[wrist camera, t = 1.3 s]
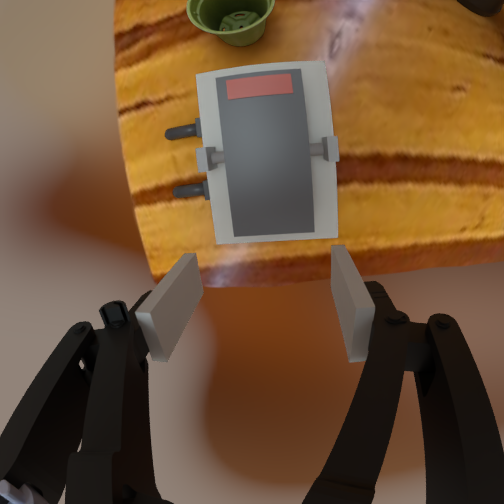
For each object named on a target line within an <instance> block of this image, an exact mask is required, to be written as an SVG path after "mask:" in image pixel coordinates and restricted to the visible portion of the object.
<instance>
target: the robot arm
mask: <svg viewBox="0 0 504 504" xmlns="http://www.w3.org/2000/svg"><path fill="white" fill-rule="evenodd" d="M457 1H459V2H460V3H461V4H462V5H464V6H465V7H467V8H468V9H470V10H471V11H473V12H475V13H477V14H479V15H482V16H487V17H489V16H493V15H495V14H497V13H499V12H500V11H501V9H502V6H503V4H504V0H457ZM331 290H332V293H333V297H334V301H335V305H336V309H337V313H338V317H339V321H340V325H341V329H342V333H343V337H344V341H345V346H346V350H347V354H348V359H349V362H358V361H366V362H365V365H364V369H363V372H362V375H361V378H360V381H359V384H358V387H357V390H356V392H355V395H354V398H353V400H352V403H351V406H350V408H349V411H348V413H347V416H346V418H345V421H344V423H343V426H342V428H341V431H340V433H339V435H338V438H337V440H336V442H335V445H334V447H333V449H332V451H331V453H330V455H329V457H328V459H327V462H326V464H325V466H324V468H323V470H322V472H321V474H320V475H319V476H318V478H316V480H315V481H314V483H313V485H312V487H311V488H310V490H309V492H308V493H307V495H306V497H305V499H304V500H303V502H302V504H371V503H372V500H373V498H374V494H375V484H376V481H377V479H378V476H379V473H380V470H381V467H382V464H383V461H384V457H385V454H386V450H387V447H388V444H389V440H390V436H391V433H392V428H393V425H394V420H395V416H396V411H397V407H398V402H399V398H400V392H401V387H402V381H403V375H404V371H413V372H414V377H415V382H416V388H417V394H418V400H419V407H420V414H421V421H422V429H423V438H424V450H425V467H426V504H504V452H503V447H502V443H501V439H500V434H499V431H498V427H497V424H496V420H495V416H494V413H493V410H492V407H491V403H490V400H489V398H488V395H487V392H486V389H485V386H484V384H483V381H482V378H481V375H480V373H479V370H478V368H477V365H476V363H475V361H474V359H473V356H472V354H471V351H470V349H469V347H468V344H467V342H466V340H465V338H464V336H463V334H462V332H461V329H460V327H459V325H458V323H457V322H456V320H455V319H454V318H452V317H451V316H449V315H446V314H440V313H439V314H434V315H432V316H430V318H429V319H428V323H427V324H426V323H415V322H410V319H409V317H408V316H407V315H406V314H405V313H403V312H402V311H398V310H396V308H395V306H394V305H393V303H392V301H391V299H390V298H389V296H388V294H387V293H386V291H385V289H384V287H383V286H382V285H381V284H379V283H378V282H376V281H370V282H363V280H362V278H361V276H360V274H359V272H358V270H357V268H356V266H355V264H354V262H353V261H352V259H351V257H350V255H349V253H348V251H347V249H346V247H345V245H331ZM203 293H204V292H203V287H202V282H201V277H200V272H199V267H198V261H197V256H196V253H187V254H184V255H183V256H182V257H181V258H180V259H179V260H178V262H177V263H176V264H175V265H174V266H173V267H172V268H171V270H170V271H169V272H168V273H167V274H166V275H165V277H164V278H163V279H162V280H161V281H160V282H159V284H158V285H157V286H156V287H155V288H154V290H152V291H151V290H150V291H148V292H147V293H145V294H144V295H142V296H141V297H140V299H139V300H138V301H137V302H136V303H135V305H134V306H133V307H132V308H131V309H130V310H129V311H128V310H127V307H126V304H125V303H124V302H123V301H112V302H109V303H107V304H105V305H103V306H102V307H101V308H100V310H99V312H100V315H101V317H102V320H103V322H104V324H105V328H104V329H97V330H94V329H93V327H92V325H91V323H90V322H86V321H85V322H79V323H76V324H75V325H73V326H72V327H71V328H70V329H69V330H68V332H67V333H66V334H65V336H64V337H63V338H62V340H61V341H60V342H59V344H58V345H57V347H56V348H55V349H54V351H53V352H52V354H51V355H50V356H49V358H48V360H47V361H46V362H45V364H44V365H43V367H42V368H41V370H40V371H39V373H38V374H37V376H36V377H35V379H34V380H33V382H32V383H31V385H30V386H29V388H28V389H27V391H26V393H25V395H24V396H23V398H22V399H21V401H20V403H19V404H18V406H17V407H16V409H15V411H14V413H13V414H12V416H11V418H10V420H9V422H8V423H7V425H6V427H5V429H4V431H3V432H2V434H1V436H0V504H58V502H59V500H60V498H61V496H62V493H63V490H64V488H65V485H66V492H65V504H174V503H172V502H170V501H167V500H163V499H162V498H161V496H160V494H159V492H158V490H157V487H156V484H155V477H154V468H153V459H152V447H151V435H150V417H149V391H148V390H149V389H148V362H147V359H146V356H147V354H148V352H150V354H151V357H152V360H153V361H161V362H168V360H169V358H170V355H171V354H172V352H173V350H174V348H175V346H176V344H177V342H178V340H179V338H180V336H181V335H182V333H183V331H184V329H185V327H186V325H187V323H188V321H189V319H190V317H191V315H192V314H193V312H194V310H195V308H196V306H197V304H198V302H199V300H200V298H201V297H202V295H203ZM368 351H369V352H368ZM367 355H368V356H367ZM80 360H82V362H83V364H84V368H83V369H81V367H80V366H79V362H80ZM81 439H82V444H81V449H80V451H79V452H77V450H78V447H79V445H80V442H81Z"/></svg>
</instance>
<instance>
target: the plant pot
mask: <svg viewBox="0 0 504 504" xmlns="http://www.w3.org/2000/svg"><path fill="white" fill-rule="evenodd" d="M274 3H275V0H188V2H187V14H188V17H189V19H190V20H191V22H192V23H193V24H194V25H195V26H197V27H198V28H199V29H201V30H203V31H205V32H208V33H212V34H216V35H217V36H218V37H219V38H221V39H222V40H223V41H224V42H226V43H228V44H230V45H233V46H247V45H250V44H253V43H255V42H256V41H257V40H258V39H259V38H260V37H261V36H262V35H263V33H264V30H265V24H266V18H267V17H268V16H269V14H270V13H271V11H272V9H273V7H274ZM237 14H245V15H244V16H237V17H235V15H237ZM240 26H243V28H242V29H240V28H239V27H240ZM224 27H225V31H222V29H223V28H224Z"/></svg>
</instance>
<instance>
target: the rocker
mask: <svg viewBox="0 0 504 504" xmlns="http://www.w3.org/2000/svg"><path fill="white" fill-rule="evenodd" d="M216 88H217V98H218V107H219V116H220V125H221V134H222V143H223V151H218V152H212V153H211V159H212V163H213V164H219V163H225V169H226V177H227V185H228V193H229V201H230V210H231V217H232V225H233V233H234V237H242V236H258V235H275V234H292V233H311V232H315V227H314V204H313V186H312V171H311V157H310V156H315V155H323V154H324V149H323V143H309V134H308V124H307V114H306V105H305V97H304V89H303V81H302V73H301V69H285V70H272V71H261V72H252V73H244V74H237V75H230V76H224V77H218V78H216Z"/></svg>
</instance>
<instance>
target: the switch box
mask: <svg viewBox="0 0 504 504" xmlns="http://www.w3.org/2000/svg"><path fill="white" fill-rule="evenodd" d="M285 69H301V73H302V81H303V89H304V97H305V105H306V114H307V124H308V134H309V143H323V149H324V154H323V155H315V156H310V157H311V171H312V186H313V204H314V227H315V232H311V233H292V234H275V235H258V236H242V237H234V233H233V225H232V217H231V210H230V201H229V193H228V185H227V177H226V169H225V163H219V164H213V163H212V159H211V153H212V152H218V151H223V143H222V134H221V125H220V116H219V107H218V98H217V88H216V78H218V77H224V76H230V75H237V74H244V73H252V72H261V71H272V70H285ZM196 83H197V93H198V103H199V112H200V118H195V122H196V123H195V124H190V125H184V126H179V127H175V128H170V129H168V130H166V132H165V137H166V139H168V140H174V139H179V138H184V137H189V136H195V135H197V137H202V139H203V147H202V148H196V157H197V164H198V172H207V180H205V181H203V183H198V184H191V185H183V186H177V187H175V188H174V189H173V195H174V196H175V197H176V198H182V197H191V196H199V195H205V200H210V202H211V209H212V216H213V223H214V230H215V236H216V243H217V244H234V243H251V242H268V241H285V240H304V239H322V238H338V202H337V177H336V161H339V149H338V136H334V134H333V123H332V113H331V104H330V96H329V88H328V80H327V73H326V67H325V61H295V62H279V63H267V64H257V65H249V66H241V67H234V68H228V69H222V70H216V71H210V72H205V73H200V74H196Z"/></svg>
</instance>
